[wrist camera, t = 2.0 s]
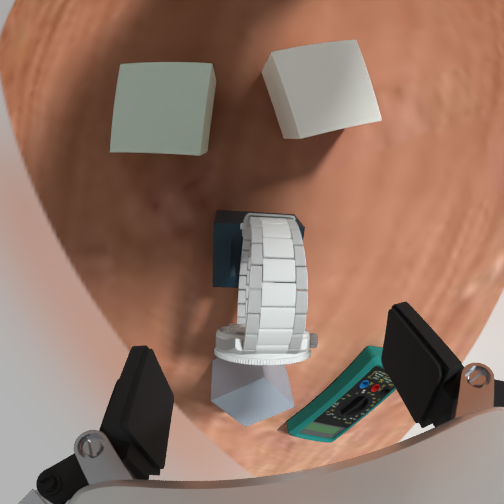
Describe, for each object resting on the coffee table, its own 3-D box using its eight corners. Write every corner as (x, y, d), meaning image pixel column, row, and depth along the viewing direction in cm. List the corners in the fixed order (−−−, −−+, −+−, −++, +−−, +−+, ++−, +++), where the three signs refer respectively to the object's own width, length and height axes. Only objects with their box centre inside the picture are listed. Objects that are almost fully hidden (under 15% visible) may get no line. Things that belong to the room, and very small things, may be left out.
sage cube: (145, 79, 16) (120, 63, 12) (216, 81, 17) (212, 63, 12) (137, 148, 18) (109, 152, 13) (207, 151, 19) (199, 155, 14)
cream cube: (261, 72, 17) (271, 51, 12) (328, 59, 16) (356, 39, 12) (283, 138, 19) (300, 138, 14) (348, 122, 18) (381, 120, 14)
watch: (214, 289, 22) (206, 401, 12) (217, 185, 19) (203, 239, 9) (285, 291, 23) (321, 398, 13) (298, 190, 20) (364, 246, 10)
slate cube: (212, 359, 25) (210, 400, 21) (258, 336, 25) (264, 376, 20) (242, 387, 27) (245, 426, 22) (285, 367, 26) (294, 406, 22)
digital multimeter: (407, 356, 28) (418, 372, 25) (325, 429, 32) (330, 446, 30) (370, 337, 26) (381, 355, 24) (283, 420, 30) (286, 439, 28)
